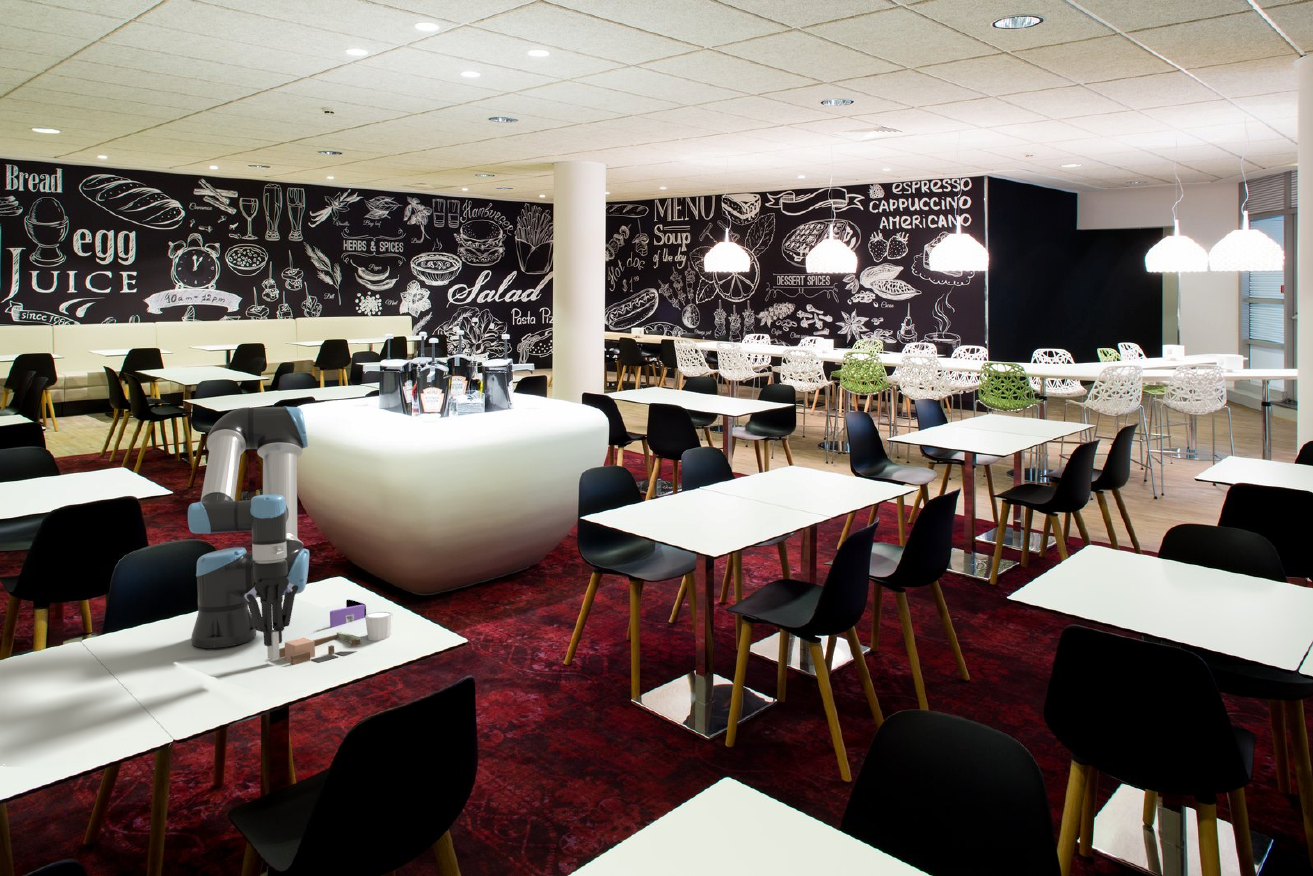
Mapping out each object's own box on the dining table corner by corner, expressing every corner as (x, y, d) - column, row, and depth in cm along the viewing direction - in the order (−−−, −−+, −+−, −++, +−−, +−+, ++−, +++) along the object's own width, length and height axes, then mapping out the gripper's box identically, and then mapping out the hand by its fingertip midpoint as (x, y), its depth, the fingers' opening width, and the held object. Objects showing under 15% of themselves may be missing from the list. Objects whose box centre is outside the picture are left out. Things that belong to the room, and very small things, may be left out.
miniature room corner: (372, 628, 249) (371, 604, 249) (331, 637, 240) (330, 612, 240) (350, 621, 257) (350, 597, 257) (310, 629, 249) (309, 605, 248)
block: (285, 658, 222) (284, 642, 221) (304, 653, 225) (303, 637, 225) (295, 662, 218) (295, 645, 218) (315, 657, 222) (314, 641, 222)
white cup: (385, 645, 231) (384, 618, 231) (360, 644, 233) (359, 617, 232) (398, 638, 238) (397, 612, 238) (374, 637, 239) (373, 611, 239)
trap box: (272, 658, 221) (272, 648, 221) (340, 641, 236) (339, 631, 236) (301, 667, 213) (300, 657, 213) (369, 649, 228) (368, 639, 228)
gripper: (251, 566, 208) (255, 667, 209) (304, 557, 218) (307, 654, 219) (235, 562, 212) (239, 662, 214) (287, 554, 223) (290, 649, 224)
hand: (273, 658), depth 217 cm, fingers closed
